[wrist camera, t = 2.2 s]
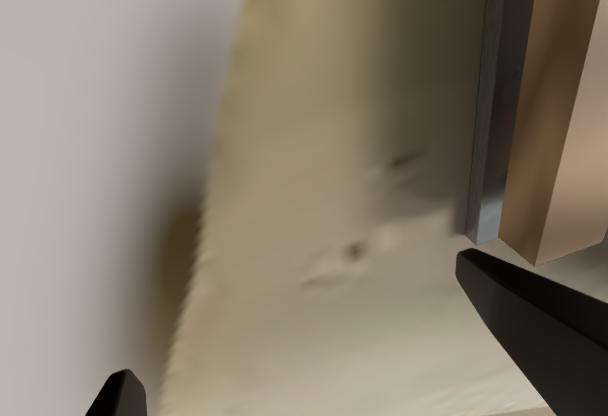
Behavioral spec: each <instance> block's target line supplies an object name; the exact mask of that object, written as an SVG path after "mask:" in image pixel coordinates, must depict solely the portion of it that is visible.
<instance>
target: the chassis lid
mask: <svg viewBox="0 0 608 416" xmlns="http://www.w3.org/2000/svg"><path fill="white" fill-rule="evenodd" d="M533 5H534V0H487V2H486V14H485V25H484V36H483V47H482V59H481V70H480V81H479V92H478V104H477V115H476V126H475V137H474V149H473V160H472V171H471V182H470V194H469V205H468V216H467V227H466V236H467V237H468V238H469V239H470V240H471V241H472V242H473V243H474V244H475V245H476V246H477V245H480V244H482V243H485V242H488V241H491V240H494V239H497V238H499V237H498V232H499V225H500V219H501V212H502V206H503V199H504V193H505V186H506V180H507V173H508V167H509V160H510V154H511V148H512V141H513V135H514V128H515V122H516V115H517V109H518V102H519V96H520V89H521V83H522V76H523V70H524V63H525V57H526V50H527V44H528V37H529V31H530V24H531V18H532V11H533Z"/></svg>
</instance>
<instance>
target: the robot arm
mask: <svg viewBox="0 0 608 416" xmlns="http://www.w3.org/2000/svg"><path fill="white" fill-rule="evenodd" d="M456 278H457V280H458V282H459V283H460V285H461V287H462V288H463V290H464V291H465V293H466V295H467V296H468V298H469V299H470V301H471V303H472V304H473V306H474V307H475V309H476V310H477V312H478V314H479V315H480V317H481V318H482V320H483V321H484V323H485V324H486V326H487V327H488V329H489V330H490V331H491V333H492V334H493V335H494V337H495V338H496V339H497V341H498V342H499V343H500V344H501V346H502V347H503V348H504V349H505V351H506V352H507V353H508V355H509V356H510V357H511V358H512V360H513V361H514V362H515V363H516V365H517V366H518V367H519V368H520V370H521V371H522V372H523V374H524V375H525V376H526V377H527V379H528V380H529V381H530V382H531V384H532V385H533V386H534V388H535V389H536V390H537V391H538V393H539V394H540V395H541V396H542V398H543V399H544V400H545V401H546V403H547V404H548V405H549V407H550V408H551V409H552V410H553V412H554V413H555V414H556V415H557V416H608V303H606V302H603V301H601V300H599V299H596V298H594V297H591V296H589V295H586V294H584V293H581V292H579V291H577V290H574V289H572V288H569V287H567V286H564V285H562V284H559V283H557V282H555V281H552V280H550V279H547V278H545V277H542V276H540V275H538V274H535V273H533V272H530V271H528V270H525V269H523V268H520V267H518V266H516V265H513V264H511V263H508V262H506V261H503V260H501V259H499V258H496V257H494V256H491V255H489V254H486V253H484V252H481V251H479V250H477V249H474V248H469V249H466V250H463V251H460V252H458V254H457V258H456ZM85 416H147V406H146V394H145V389H144V386H143V385H142V383H141V382H140V381H139V380H138V379H137V377H136V376H135V375H134V373H133V372H132V371H131V370H129V369H124V370H121V371H118V372H115V373H113V374H111V375H110V376H109V378H108V379H107V381H106V383H105V384H104V386H103V387H102V389H101V390H100V392H99V394H98V396H97V397H96V399H95V400H94V402H93V404H92V405H91V407H90V408H89V410H88V412H87V413H86V415H85Z"/></svg>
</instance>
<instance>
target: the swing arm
mask: <svg viewBox="0 0 608 416" xmlns="http://www.w3.org/2000/svg"><path fill="white" fill-rule="evenodd" d="M607 228H608V0H534V5H533V11H532V18H531V24H530V31H529V37H528V44H527V50H526V57H525V63H524V70H523V76H522V83H521V89H520V96H519V102H518V109H517V115H516V122H515V128H514V135H513V141H512V148H511V154H510V160H509V167H508V173H507V180H506V186H505V193H504V199H503V206H502V212H501V219H500V225H499V232H498V237H499V238H500V239H502V240H503V241H504V242H505V243H506V244H508V245H509V246H510V247H511V248H512V249H514V250H515V251H516V252H517V253H518V254H520V255H521V256H522V257H523V258H524V259H526V260H527V261H528V262H529V263H530V264H532V265H533V266H534V267H536V266H539V265H542V264H544V263H547V262H550V261H552V260H555V259H558V258H561V257H563V256H566V255H569V254H572V253H574V252H577V251H580V250H582V249H585V248H588V247H591V246H593V245H596V244H599V243H601V242H603V239H604V236H605V233H606V231H607Z"/></svg>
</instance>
